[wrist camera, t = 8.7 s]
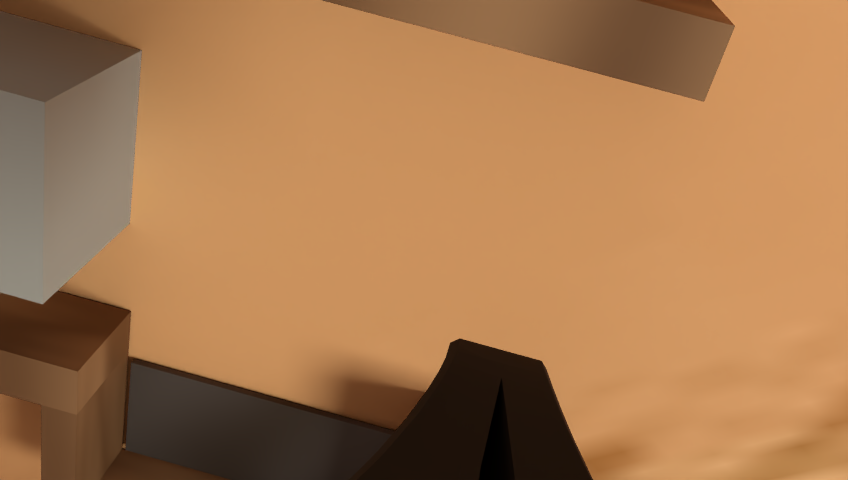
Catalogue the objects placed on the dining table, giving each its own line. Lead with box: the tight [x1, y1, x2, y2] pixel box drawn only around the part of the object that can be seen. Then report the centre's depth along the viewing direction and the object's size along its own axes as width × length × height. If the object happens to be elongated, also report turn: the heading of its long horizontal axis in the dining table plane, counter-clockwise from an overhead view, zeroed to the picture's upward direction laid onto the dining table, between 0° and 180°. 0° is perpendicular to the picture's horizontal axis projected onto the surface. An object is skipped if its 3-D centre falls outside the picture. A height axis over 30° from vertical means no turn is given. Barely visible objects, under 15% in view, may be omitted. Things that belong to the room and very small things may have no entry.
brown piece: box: [0, 0, 735, 480], centre depth 21 cm, size 17×19×4 cm
